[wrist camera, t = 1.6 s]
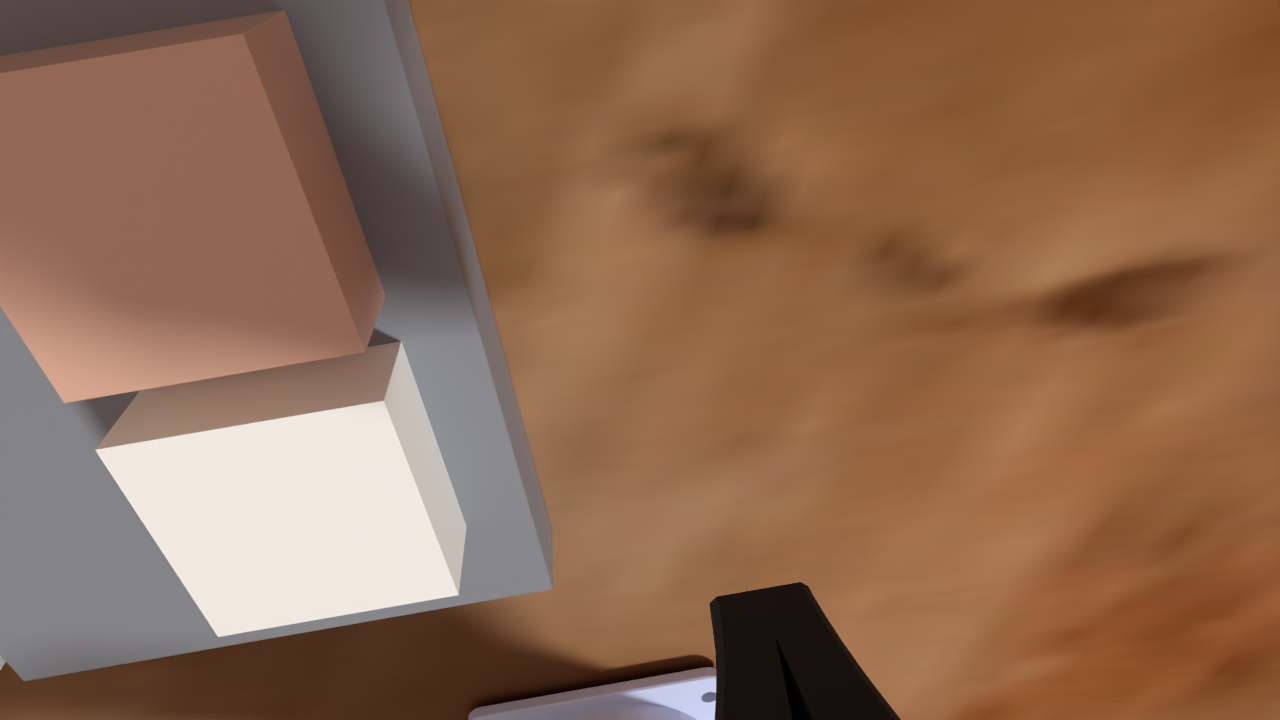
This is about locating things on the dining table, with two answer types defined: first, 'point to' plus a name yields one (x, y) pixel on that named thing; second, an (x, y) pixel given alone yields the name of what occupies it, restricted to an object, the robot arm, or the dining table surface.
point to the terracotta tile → (176, 210)
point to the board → (411, 313)
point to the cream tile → (293, 490)
